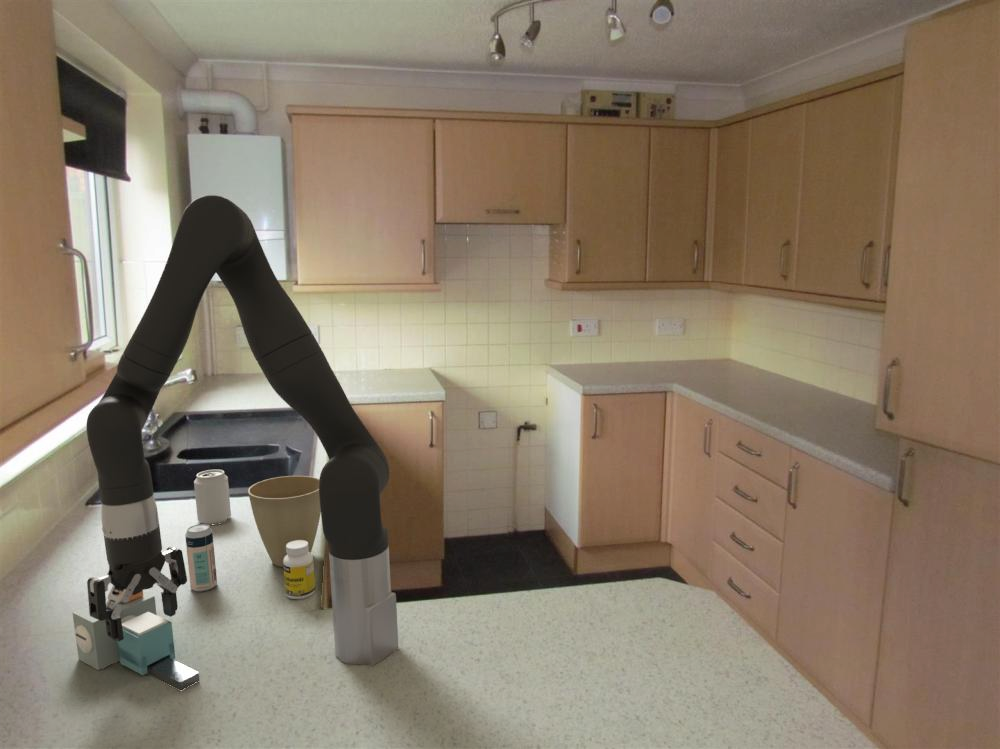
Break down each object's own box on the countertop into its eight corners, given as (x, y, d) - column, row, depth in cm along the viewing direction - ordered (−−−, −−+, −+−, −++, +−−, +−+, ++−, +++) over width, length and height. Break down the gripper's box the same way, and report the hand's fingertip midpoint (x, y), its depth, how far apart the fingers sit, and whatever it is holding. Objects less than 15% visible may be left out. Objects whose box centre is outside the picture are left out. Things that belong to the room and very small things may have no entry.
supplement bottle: (279, 597, 135) (275, 547, 133) (297, 585, 140) (293, 536, 138) (304, 602, 133) (300, 551, 131) (321, 588, 138) (318, 540, 136)
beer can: (209, 579, 143) (203, 521, 141) (222, 586, 140) (216, 527, 138) (185, 588, 139) (179, 529, 137) (198, 595, 136) (192, 534, 134)
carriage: (175, 658, 114) (171, 619, 113) (142, 675, 109) (137, 635, 108) (153, 647, 117) (149, 609, 116) (120, 663, 113) (115, 624, 112)
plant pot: (299, 580, 142) (293, 502, 139) (238, 569, 147) (231, 494, 144) (342, 550, 155) (338, 478, 152) (285, 541, 161) (280, 472, 158)
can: (219, 512, 179) (215, 466, 177) (237, 519, 175) (233, 471, 173) (191, 522, 173) (186, 474, 171) (209, 529, 169) (205, 479, 167)
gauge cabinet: (160, 641, 120) (155, 596, 119) (96, 673, 111) (90, 624, 110) (138, 631, 124) (133, 587, 122) (75, 661, 115) (68, 614, 114)
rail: (199, 681, 109) (198, 672, 108) (181, 691, 106) (180, 682, 106) (139, 651, 117) (138, 642, 117) (121, 659, 115) (120, 651, 115)
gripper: (97, 548, 101) (113, 655, 104) (189, 515, 113) (200, 612, 116) (69, 538, 105) (84, 642, 108) (160, 507, 117) (172, 601, 120)
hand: (144, 626), depth 112 cm, fingers open, 8 cm apart
